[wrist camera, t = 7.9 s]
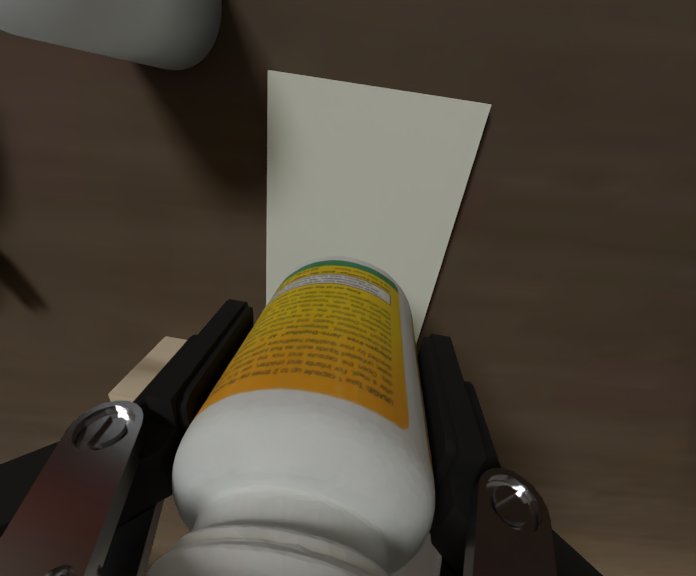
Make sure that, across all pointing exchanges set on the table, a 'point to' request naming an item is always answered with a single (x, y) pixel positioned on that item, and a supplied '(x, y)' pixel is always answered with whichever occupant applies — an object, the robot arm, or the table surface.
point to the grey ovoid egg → (121, 27)
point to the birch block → (146, 370)
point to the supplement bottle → (310, 438)
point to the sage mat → (365, 178)
